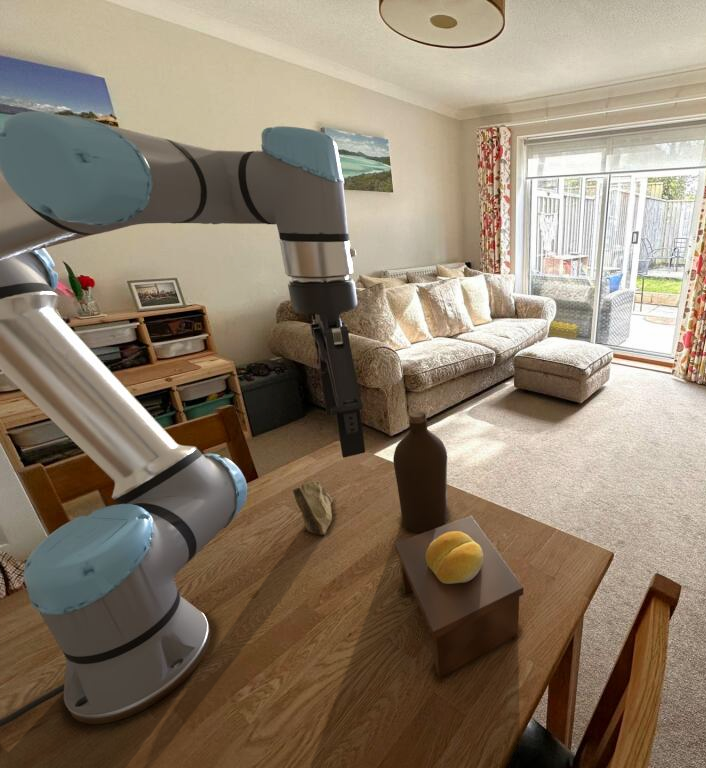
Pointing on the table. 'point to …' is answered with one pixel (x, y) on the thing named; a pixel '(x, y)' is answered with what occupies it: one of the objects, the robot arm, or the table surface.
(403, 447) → the olive oil
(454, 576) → the bread roll
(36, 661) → the table surface
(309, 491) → the rock
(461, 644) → the block
